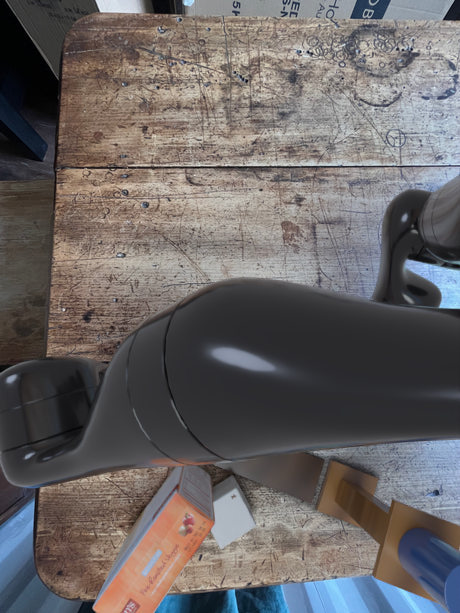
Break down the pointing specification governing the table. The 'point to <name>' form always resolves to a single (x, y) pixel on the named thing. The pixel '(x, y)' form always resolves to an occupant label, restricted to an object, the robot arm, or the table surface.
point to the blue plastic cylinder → (432, 566)
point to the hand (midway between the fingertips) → (344, 435)
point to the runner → (282, 473)
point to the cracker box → (160, 544)
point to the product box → (230, 512)
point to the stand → (380, 521)
